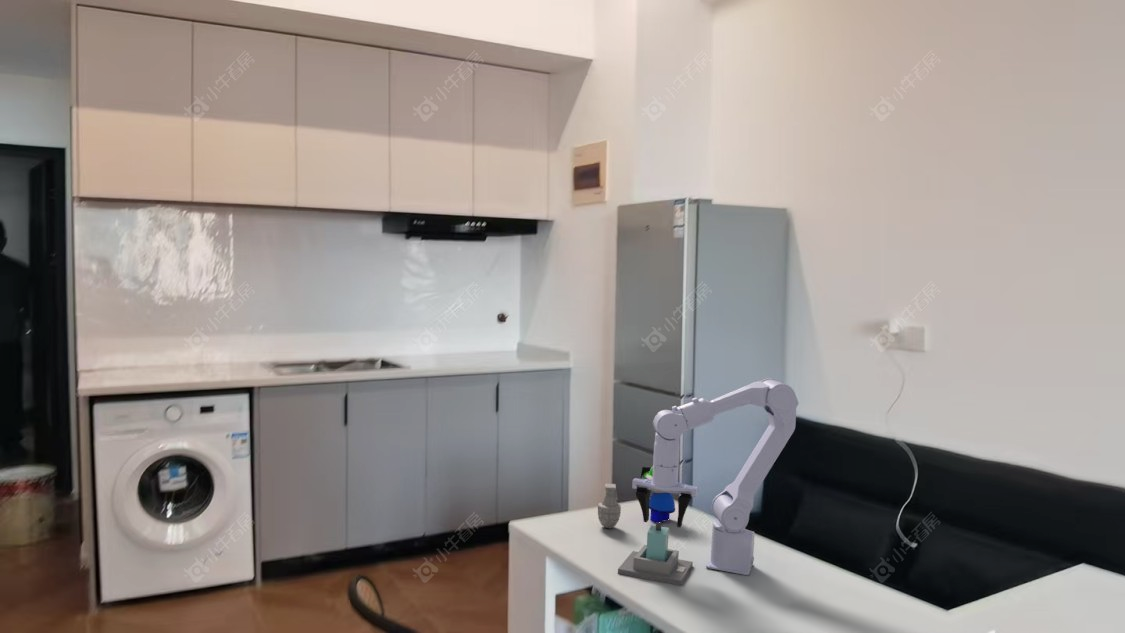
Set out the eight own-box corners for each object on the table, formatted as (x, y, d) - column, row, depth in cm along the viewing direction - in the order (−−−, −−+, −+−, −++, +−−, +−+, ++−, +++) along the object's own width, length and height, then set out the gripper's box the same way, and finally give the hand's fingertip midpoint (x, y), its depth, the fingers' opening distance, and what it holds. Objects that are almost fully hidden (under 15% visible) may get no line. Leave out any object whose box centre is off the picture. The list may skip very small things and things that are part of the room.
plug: (666, 562, 174) (669, 521, 173) (663, 570, 169) (666, 528, 168) (649, 559, 175) (651, 518, 174) (645, 567, 170) (648, 525, 169)
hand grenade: (620, 532, 196) (622, 489, 195) (597, 530, 196) (599, 488, 195) (618, 523, 202) (621, 482, 201) (596, 522, 202) (598, 481, 201)
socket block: (692, 566, 175) (693, 551, 175) (681, 585, 164) (682, 569, 164) (632, 555, 180) (633, 540, 180) (617, 573, 169) (618, 557, 169)
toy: (657, 511, 214) (660, 458, 213) (682, 520, 207) (685, 465, 206) (634, 517, 208) (637, 462, 207) (659, 526, 201) (663, 470, 200)
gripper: (701, 464, 175) (697, 523, 176) (638, 456, 180) (635, 513, 181) (695, 471, 169) (692, 532, 170) (631, 463, 174) (628, 522, 174)
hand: (662, 523), depth 175 cm, fingers open, 7 cm apart
